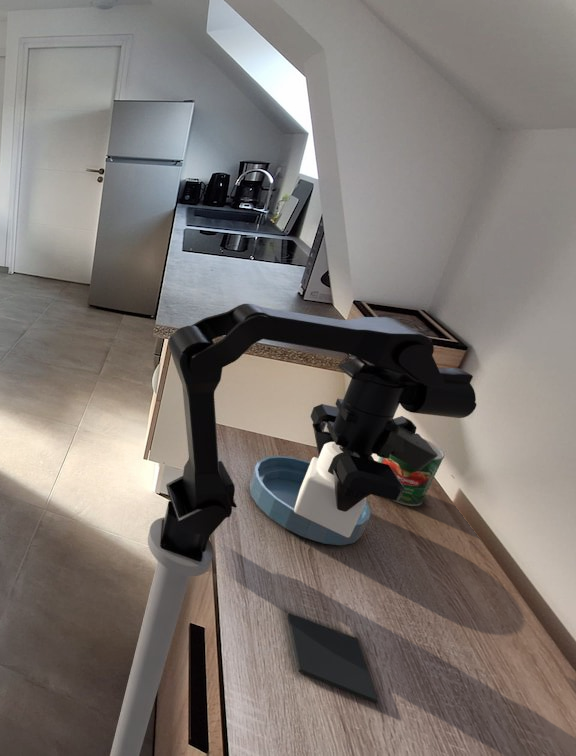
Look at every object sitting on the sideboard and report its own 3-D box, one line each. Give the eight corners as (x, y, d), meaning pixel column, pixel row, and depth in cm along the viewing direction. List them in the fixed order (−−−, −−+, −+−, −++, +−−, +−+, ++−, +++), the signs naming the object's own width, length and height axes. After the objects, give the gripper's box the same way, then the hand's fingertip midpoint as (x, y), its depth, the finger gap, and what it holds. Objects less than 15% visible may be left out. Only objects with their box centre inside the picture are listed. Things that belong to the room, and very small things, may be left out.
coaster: (298, 671, 58) (299, 668, 57) (287, 615, 64) (288, 612, 64) (376, 703, 55) (378, 700, 54) (356, 641, 61) (357, 638, 61)
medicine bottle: (352, 513, 72) (380, 451, 68) (349, 539, 67) (379, 474, 63) (299, 489, 76) (323, 430, 72) (293, 513, 71) (318, 450, 67)
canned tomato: (410, 483, 91) (432, 438, 87) (430, 511, 84) (454, 463, 80) (362, 472, 94) (381, 427, 90) (378, 498, 87) (399, 451, 83)
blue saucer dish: (253, 525, 79) (261, 503, 78) (244, 465, 94) (250, 446, 92) (374, 563, 73) (386, 540, 71) (344, 493, 88) (353, 472, 86)
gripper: (480, 462, 54) (427, 558, 59) (410, 388, 70) (374, 469, 75) (365, 436, 58) (326, 528, 63) (325, 371, 74) (296, 450, 79)
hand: (333, 491), depth 70 cm, fingers closed on medicine bottle, 8 cm apart
